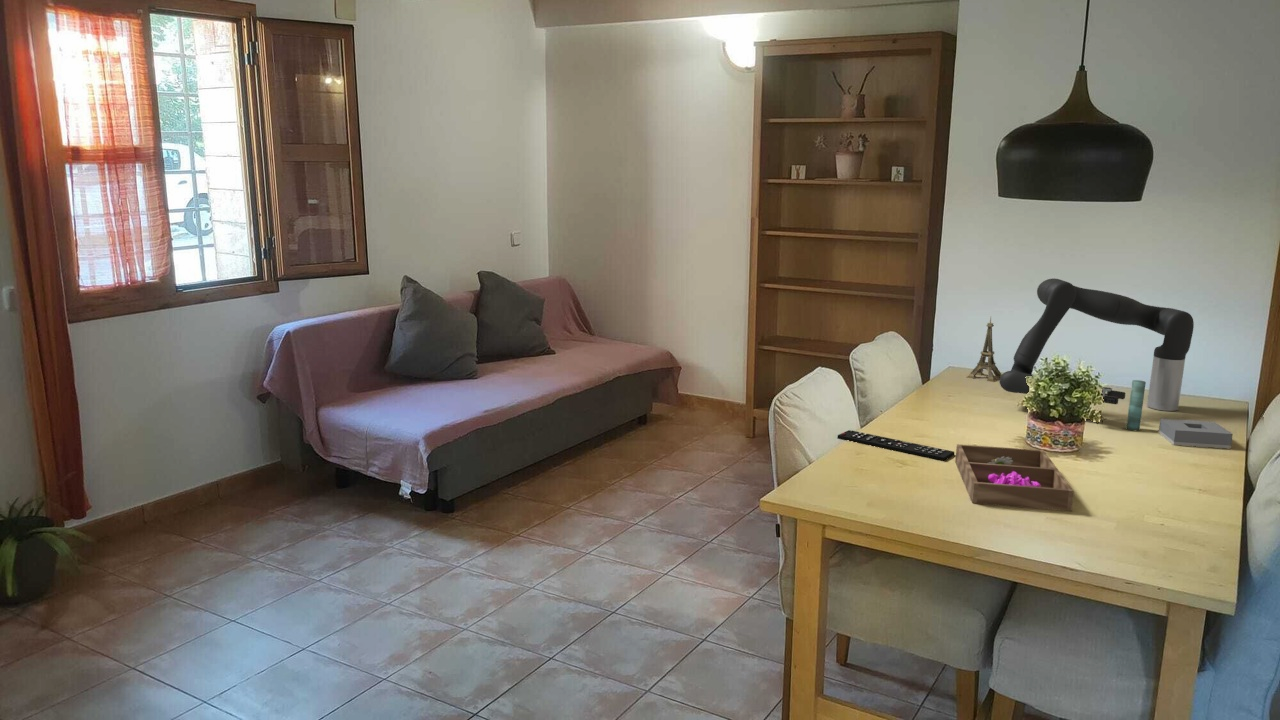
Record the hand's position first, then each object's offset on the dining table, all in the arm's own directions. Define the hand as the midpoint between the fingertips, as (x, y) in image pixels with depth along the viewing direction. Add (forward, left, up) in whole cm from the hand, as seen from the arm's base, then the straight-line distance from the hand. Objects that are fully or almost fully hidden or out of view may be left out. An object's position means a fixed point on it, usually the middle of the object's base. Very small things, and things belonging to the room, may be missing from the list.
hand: (1121, 398), depth 288 cm
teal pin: (+2, +4, -9) cm, 10 cm away
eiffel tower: (-61, -30, -9) cm, 69 cm away
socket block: (+11, +18, -9) cm, 23 cm away
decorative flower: (+61, -41, -9) cm, 74 cm away
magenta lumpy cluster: (+76, -44, -9) cm, 89 cm away
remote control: (+40, -70, -10) cm, 81 cm away
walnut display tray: (+66, -43, -9) cm, 79 cm away
